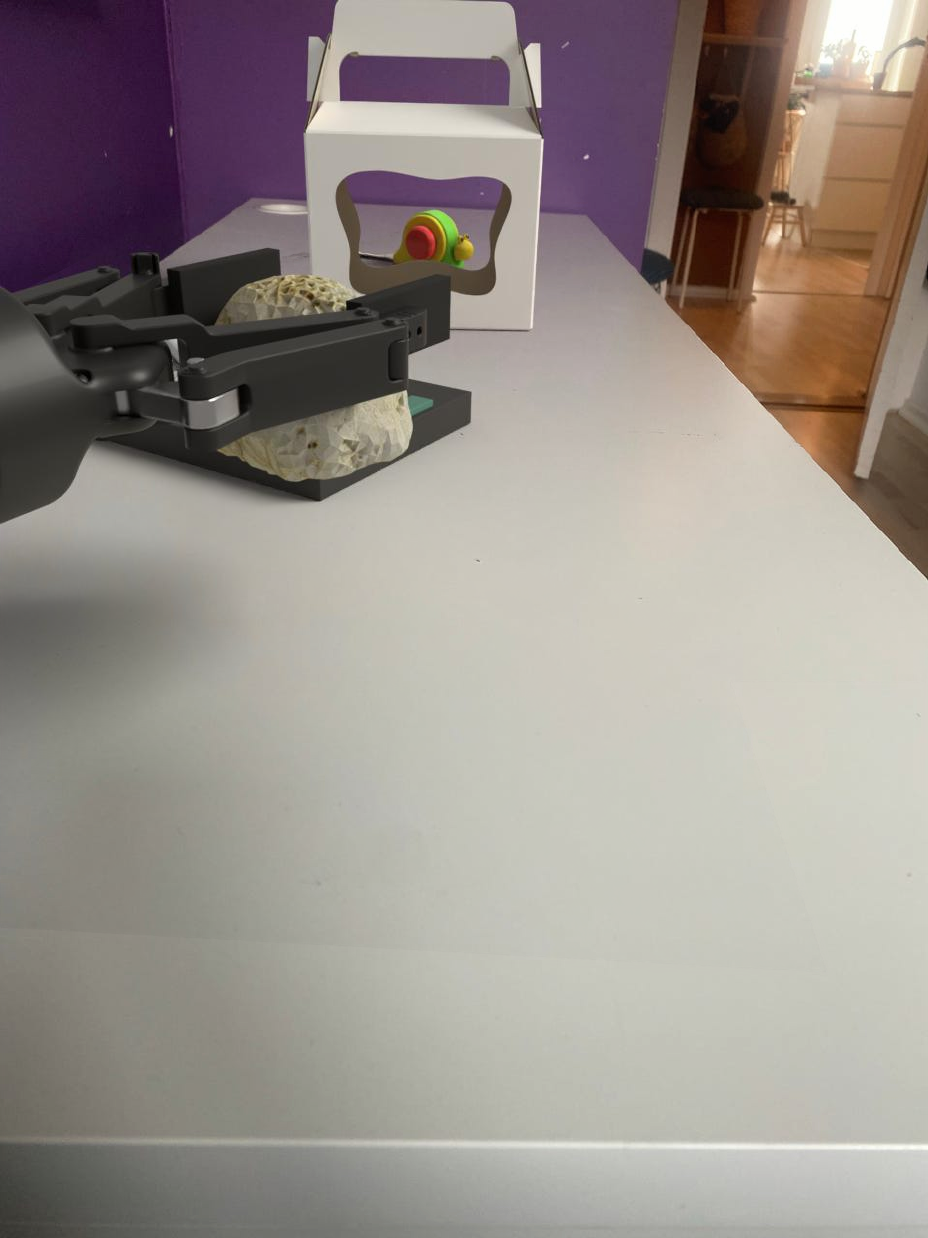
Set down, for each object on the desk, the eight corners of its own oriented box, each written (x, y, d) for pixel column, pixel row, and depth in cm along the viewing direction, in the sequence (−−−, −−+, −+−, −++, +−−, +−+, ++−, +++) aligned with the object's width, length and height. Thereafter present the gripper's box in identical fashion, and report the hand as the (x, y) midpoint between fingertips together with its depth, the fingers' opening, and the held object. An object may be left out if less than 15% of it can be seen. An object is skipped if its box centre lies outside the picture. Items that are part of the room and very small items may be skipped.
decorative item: (152, 322, 48) (340, 228, 48) (244, 482, 51) (418, 395, 51) (119, 362, 37) (363, 240, 37) (239, 561, 40) (461, 451, 40)
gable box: (524, 301, 111) (540, 5, 97) (534, 331, 100) (554, 0, 86) (322, 297, 110) (309, -2, 96) (310, 326, 99) (293, -8, 85)
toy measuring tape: (458, 275, 122) (459, 218, 119) (331, 256, 131) (329, 202, 127) (484, 268, 127) (486, 212, 124) (360, 250, 136) (359, 198, 132)
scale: (95, 436, 70) (87, 389, 69) (266, 376, 84) (263, 336, 82) (320, 501, 62) (318, 448, 60) (470, 422, 75) (472, 377, 73)
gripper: (-260, 465, 36) (192, 336, 53) (178, 640, 27) (559, 415, 43) (-338, 246, 32) (175, 182, 49) (140, 359, 23) (573, 231, 40)
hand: (355, 291), depth 46 cm, fingers closed on decorative item, 9 cm apart
